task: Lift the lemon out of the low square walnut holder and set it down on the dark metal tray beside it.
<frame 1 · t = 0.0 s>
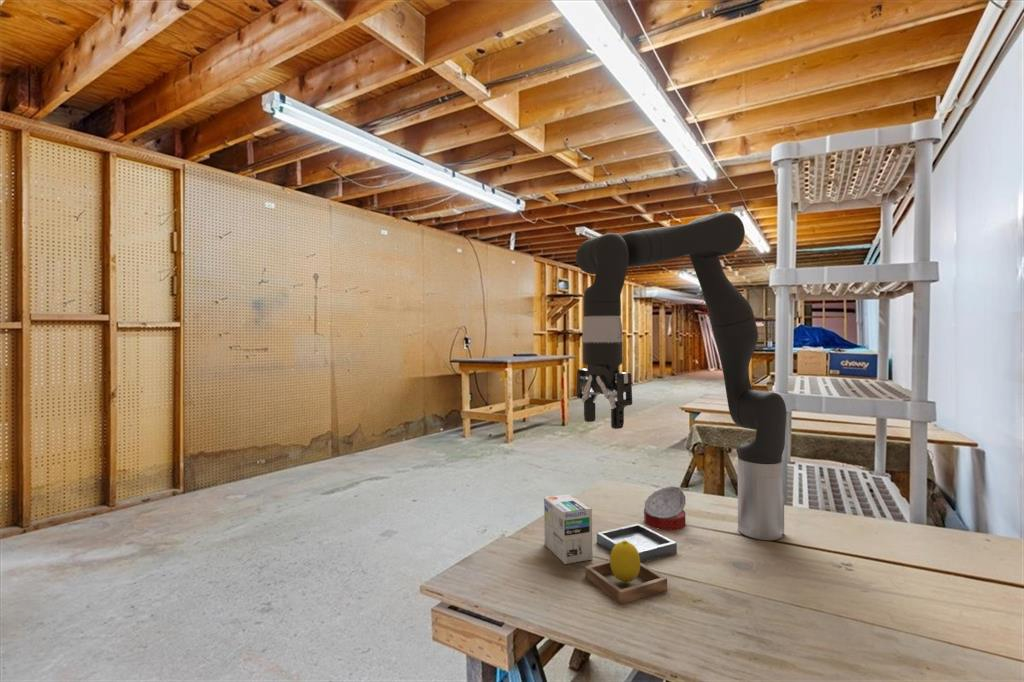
hand: (602, 424, 93), 29 cm above the table, tool pointing down, fingers open, 8 cm apart
light bulb box: (567, 553, 104), on the table
tray: (635, 547, 106), on the table
lemon: (625, 584, 90), resting in holder
canned food: (664, 524, 120), on the table
holder: (625, 583, 90), on the table
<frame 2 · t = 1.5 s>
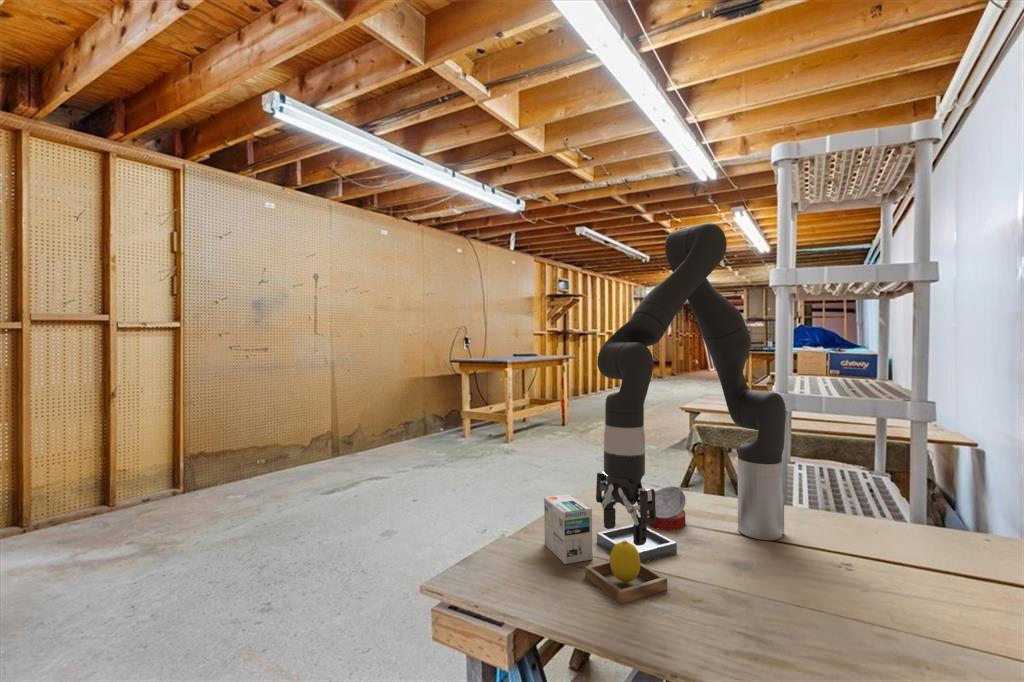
hand: (623, 535, 90), 9 cm above the table, tool pointing down, fingers open, 8 cm apart
nothing on the table moved.
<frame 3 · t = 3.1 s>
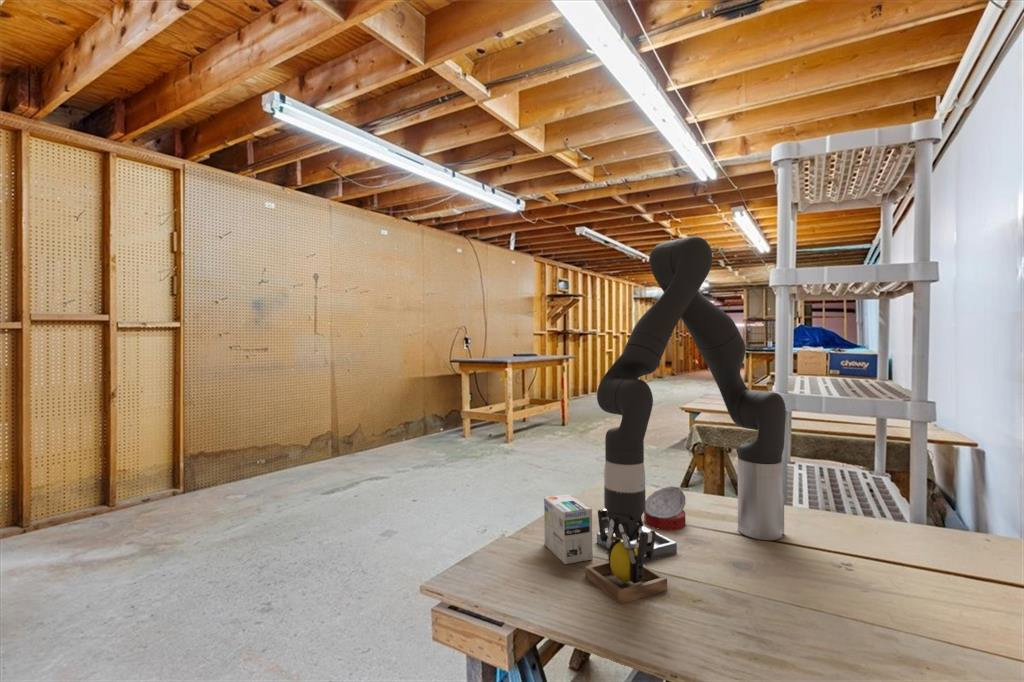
hand: (625, 574, 90), 2 cm above the table, tool pointing down, fingers closed on lemon, 5 cm apart
lemon: (625, 584, 90), resting in holder, touching gripper
everything else where it was.
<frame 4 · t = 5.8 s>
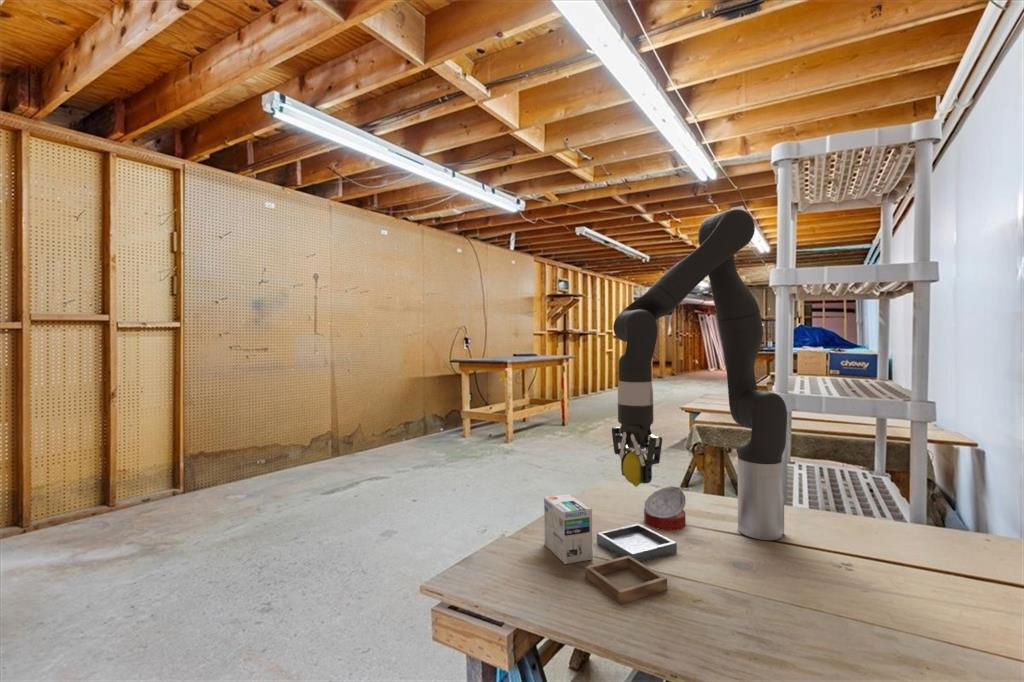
hand: (636, 478, 105), 15 cm above the table, tool pointing down, fingers closed on lemon, 5 cm apart
lemon: (635, 487, 105), point 13 cm above the table, touching gripper
everything else where it was.
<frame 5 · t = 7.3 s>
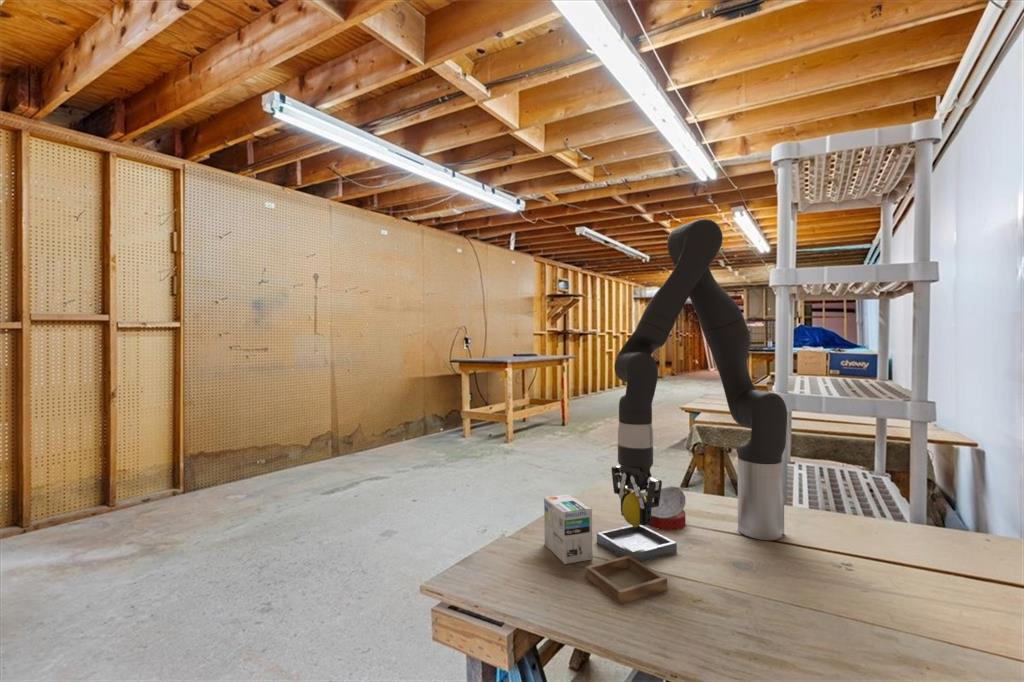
hand: (635, 519, 105), 6 cm above the table, tool pointing down, fingers closed on lemon, 5 cm apart
lemon: (635, 528, 105), point 4 cm above the table, touching gripper
everything else where it was.
when the fingers open (4 cm above the table, at t = 8.7 s): lemon stays where it is, resting on tray.
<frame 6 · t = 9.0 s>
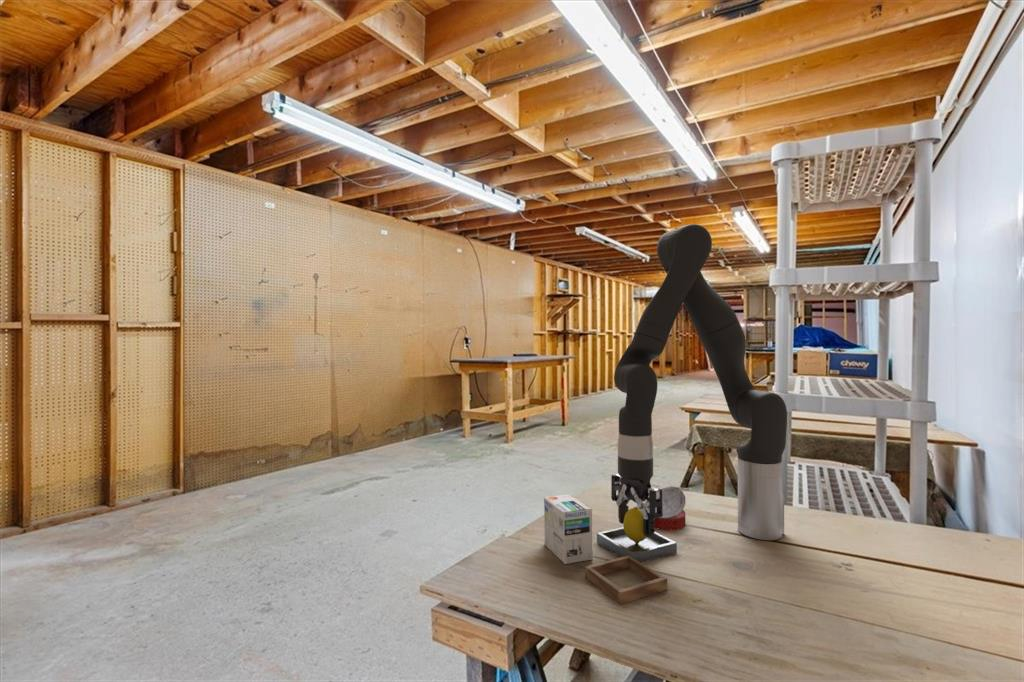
hand: (635, 528, 106), 4 cm above the table, tool pointing down, fingers open, 7 cm apart
lemon: (636, 544, 105), point 1 cm above the table, touching tray
everything else where it was.
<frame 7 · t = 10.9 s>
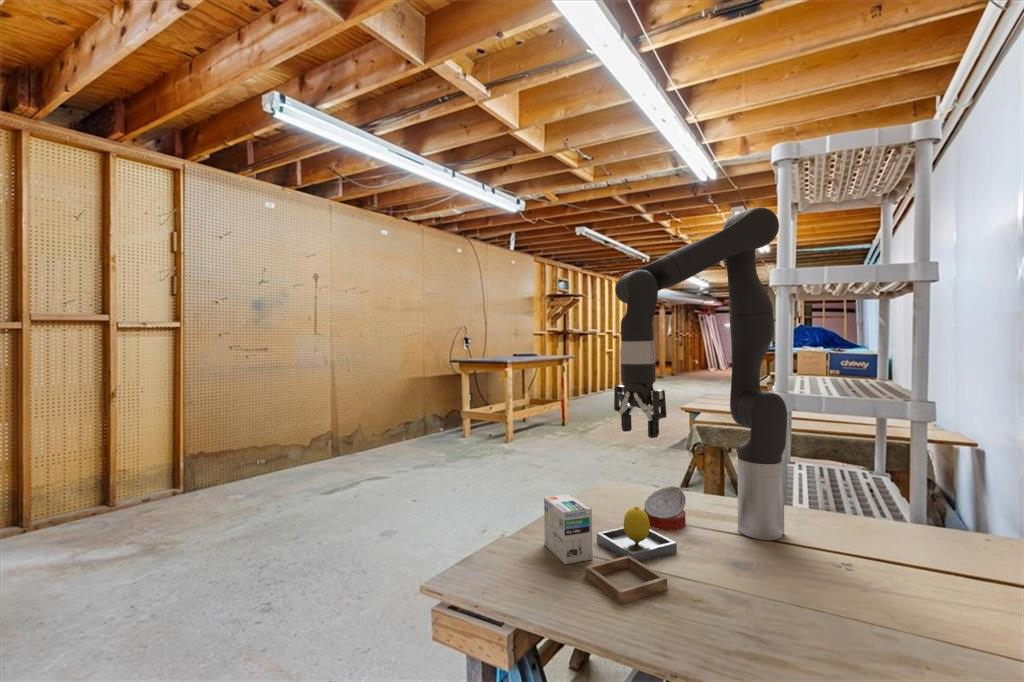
hand: (639, 434, 108), 24 cm above the table, tool pointing down, fingers open, 8 cm apart
nothing on the table moved.
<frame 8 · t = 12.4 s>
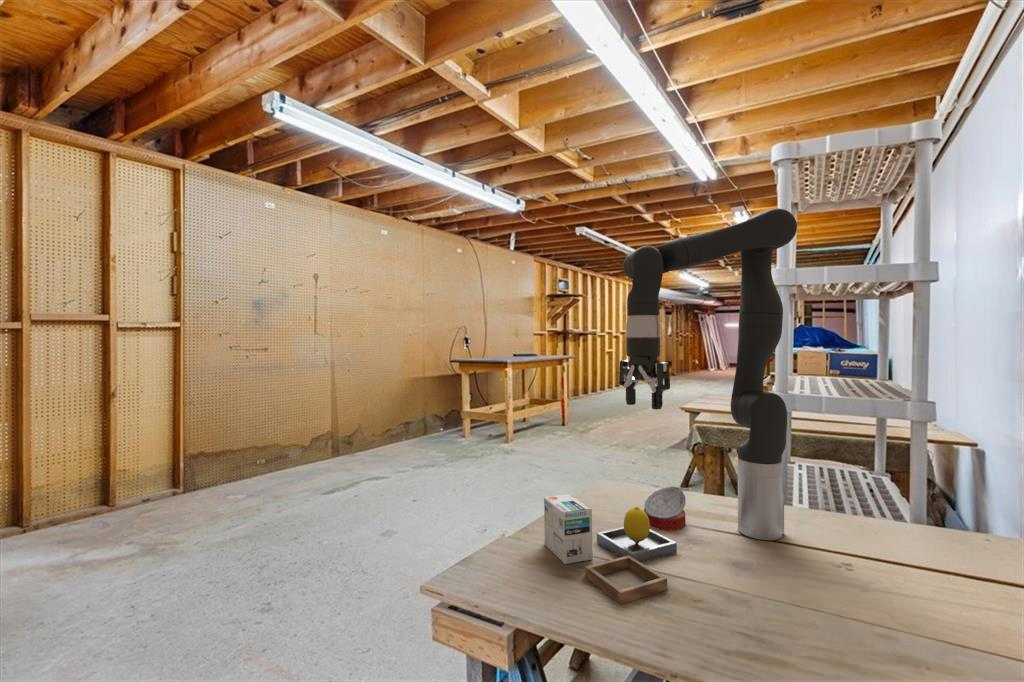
hand: (643, 406, 110), 30 cm above the table, tool pointing down, fingers open, 8 cm apart
nothing on the table moved.
at the end: lemon inside the target area on the tray (0.2 cm from its centre), point 0.8 cm above the tray's base; the gripper is holding nothing; lemon moved 16.2 cm from its start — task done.
